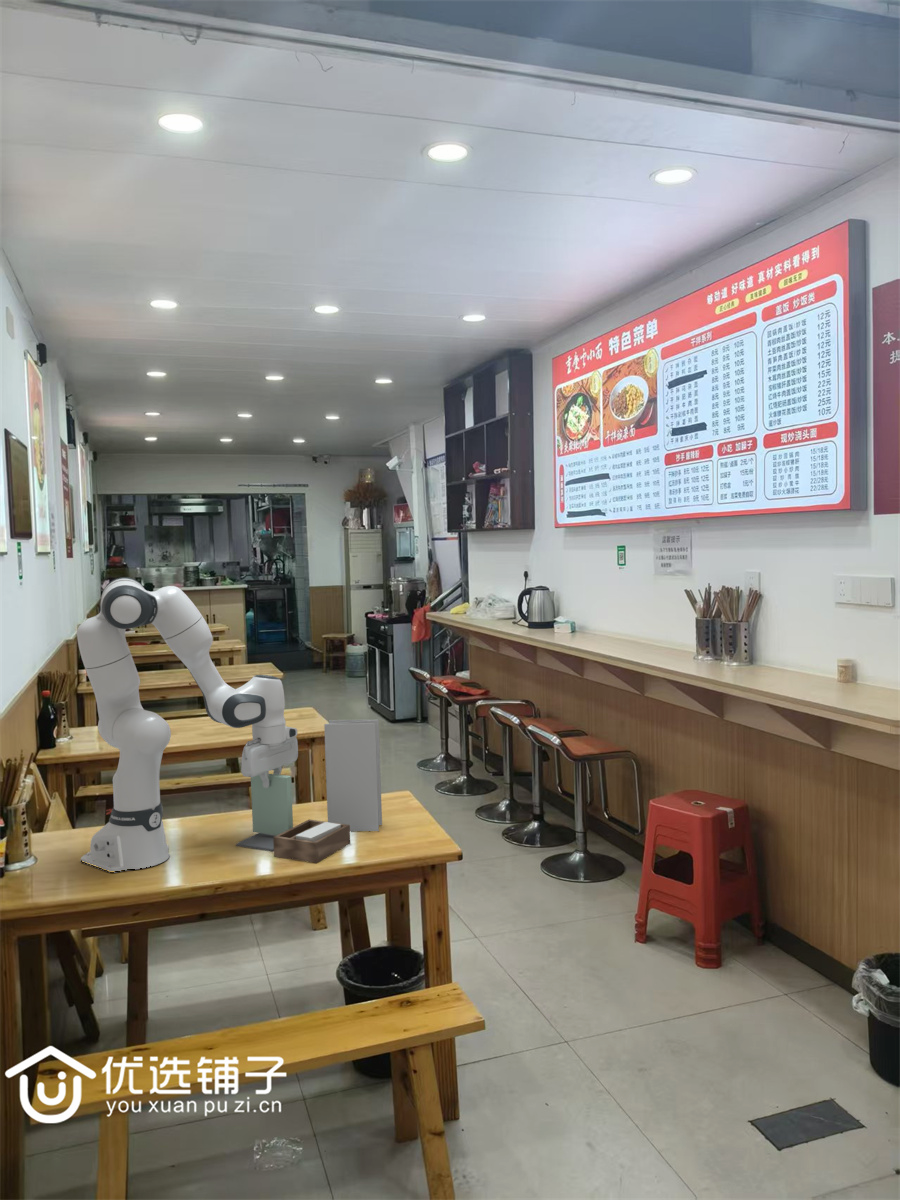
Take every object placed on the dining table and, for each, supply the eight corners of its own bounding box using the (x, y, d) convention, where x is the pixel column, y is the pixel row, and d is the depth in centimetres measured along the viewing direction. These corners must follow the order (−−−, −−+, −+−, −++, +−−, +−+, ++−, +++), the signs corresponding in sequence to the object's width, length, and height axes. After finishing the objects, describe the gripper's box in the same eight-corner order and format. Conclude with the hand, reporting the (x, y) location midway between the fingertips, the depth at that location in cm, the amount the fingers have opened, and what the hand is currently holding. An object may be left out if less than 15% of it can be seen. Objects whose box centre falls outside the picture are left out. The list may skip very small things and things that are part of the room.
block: (288, 837, 227) (286, 777, 226) (252, 831, 232) (250, 773, 232) (293, 834, 229) (291, 776, 228) (257, 829, 234) (255, 772, 233)
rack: (274, 856, 217) (273, 837, 217) (309, 837, 231) (309, 819, 231) (316, 863, 212) (315, 843, 211) (350, 843, 226) (349, 824, 225)
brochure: (382, 825, 240) (378, 719, 239) (378, 831, 235) (375, 723, 233) (332, 825, 242) (329, 720, 240) (328, 831, 236) (324, 724, 234)
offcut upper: (296, 846, 216) (295, 835, 216) (326, 833, 227) (325, 821, 227) (311, 849, 214) (311, 838, 214) (341, 835, 224) (340, 824, 224)
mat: (236, 845, 226) (236, 843, 226) (273, 827, 241) (273, 825, 241) (272, 851, 221) (272, 849, 221) (309, 832, 235) (309, 830, 235)
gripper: (253, 743, 219) (255, 796, 219) (301, 728, 237) (302, 777, 238) (234, 741, 221) (236, 794, 222) (282, 726, 240) (284, 775, 240)
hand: (271, 785), depth 230 cm, fingers closed on block, 2 cm apart
